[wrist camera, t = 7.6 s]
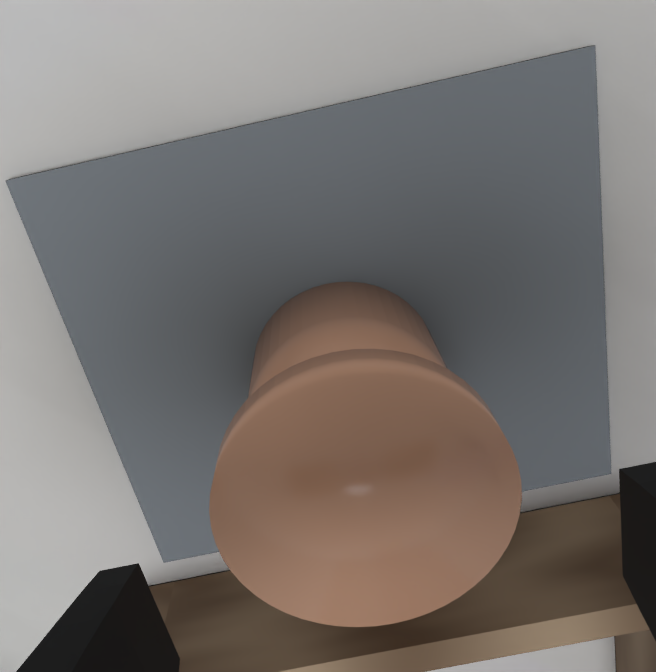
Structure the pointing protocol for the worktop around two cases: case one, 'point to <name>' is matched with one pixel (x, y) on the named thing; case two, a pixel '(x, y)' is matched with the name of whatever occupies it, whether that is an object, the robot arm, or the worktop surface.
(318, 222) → the slate mat
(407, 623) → the shallow wooden tray
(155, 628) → the robot arm
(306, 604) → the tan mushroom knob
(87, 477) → the worktop surface
